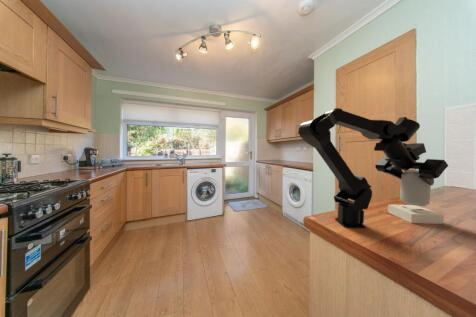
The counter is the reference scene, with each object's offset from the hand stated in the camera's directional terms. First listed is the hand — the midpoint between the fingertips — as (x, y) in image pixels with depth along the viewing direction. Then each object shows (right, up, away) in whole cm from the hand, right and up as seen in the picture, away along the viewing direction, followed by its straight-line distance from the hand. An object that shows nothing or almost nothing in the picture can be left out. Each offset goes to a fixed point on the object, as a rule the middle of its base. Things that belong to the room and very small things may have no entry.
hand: (418, 182), depth 62 cm
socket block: (-1, -13, +1) cm, 13 cm away
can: (-1, -8, 0) cm, 8 cm away
